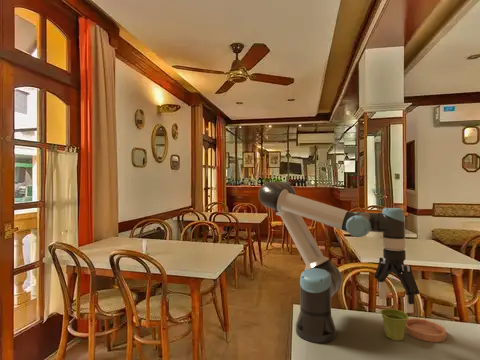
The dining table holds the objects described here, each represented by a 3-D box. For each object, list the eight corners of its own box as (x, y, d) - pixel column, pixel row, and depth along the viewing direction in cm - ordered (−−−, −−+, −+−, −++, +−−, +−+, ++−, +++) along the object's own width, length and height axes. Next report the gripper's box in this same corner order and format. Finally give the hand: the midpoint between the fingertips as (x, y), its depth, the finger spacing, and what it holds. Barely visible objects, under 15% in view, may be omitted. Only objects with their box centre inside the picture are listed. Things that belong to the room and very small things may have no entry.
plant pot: (412, 344, 106) (412, 320, 106) (384, 341, 108) (384, 318, 108) (403, 332, 115) (403, 309, 115) (377, 329, 117) (377, 307, 117)
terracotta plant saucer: (406, 337, 111) (406, 330, 111) (401, 321, 124) (401, 315, 124) (450, 345, 105) (450, 338, 105) (441, 328, 118) (441, 322, 118)
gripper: (430, 255, 101) (431, 317, 100) (380, 242, 125) (381, 292, 124) (411, 256, 99) (413, 320, 98) (364, 243, 123) (365, 294, 123)
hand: (395, 305), depth 111 cm, fingers open, 13 cm apart
